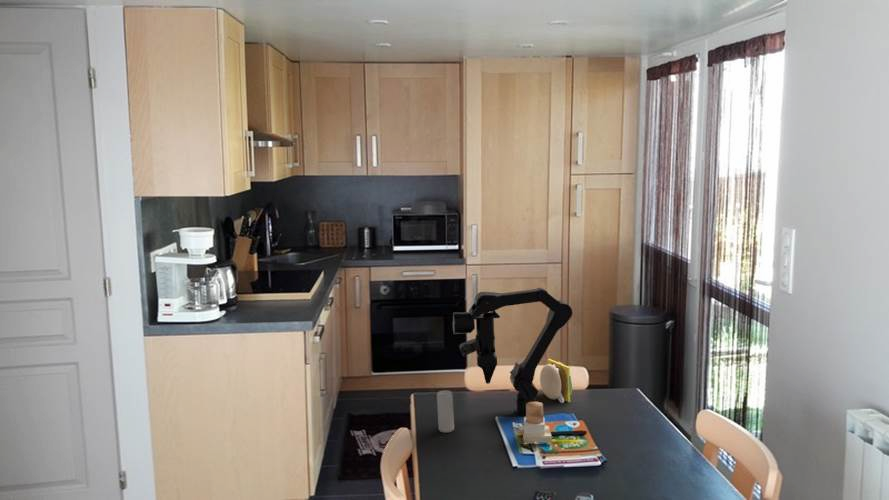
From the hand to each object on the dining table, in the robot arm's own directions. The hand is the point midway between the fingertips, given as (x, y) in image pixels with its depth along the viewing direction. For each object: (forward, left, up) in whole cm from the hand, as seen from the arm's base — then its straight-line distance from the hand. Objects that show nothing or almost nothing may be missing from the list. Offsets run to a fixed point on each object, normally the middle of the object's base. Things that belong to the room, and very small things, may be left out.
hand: (487, 379), depth 228 cm
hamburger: (-27, +7, -12) cm, 30 cm away
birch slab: (+6, +24, -13) cm, 28 cm away
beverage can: (+18, -1, -12) cm, 22 cm away
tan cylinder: (+6, +24, -7) cm, 25 cm away
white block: (+6, +24, -10) cm, 26 cm away
